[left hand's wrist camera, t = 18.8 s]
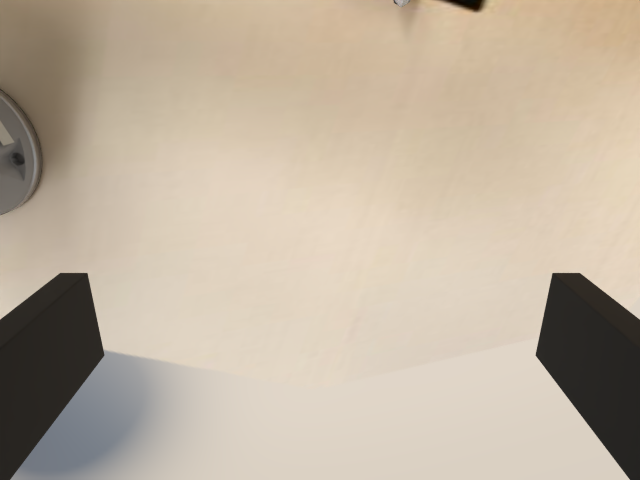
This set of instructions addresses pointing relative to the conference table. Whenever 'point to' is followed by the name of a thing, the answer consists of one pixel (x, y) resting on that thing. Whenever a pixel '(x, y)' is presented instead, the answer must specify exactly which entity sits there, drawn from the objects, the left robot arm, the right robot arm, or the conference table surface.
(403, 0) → the fish
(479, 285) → the conference table surface
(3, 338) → the left robot arm
